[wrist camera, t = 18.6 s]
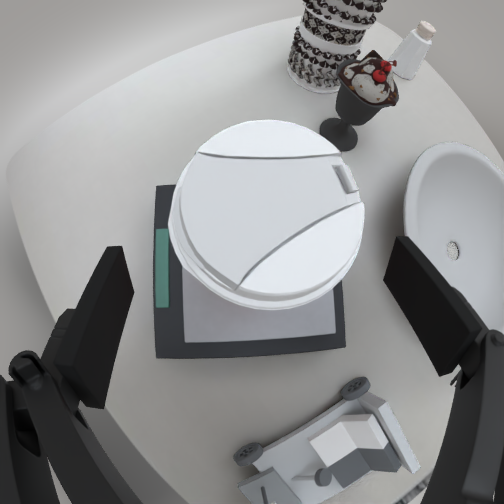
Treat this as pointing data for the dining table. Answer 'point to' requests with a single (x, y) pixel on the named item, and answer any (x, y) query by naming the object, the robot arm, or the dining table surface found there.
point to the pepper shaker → (412, 50)
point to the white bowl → (460, 222)
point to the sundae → (359, 97)
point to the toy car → (328, 452)
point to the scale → (229, 311)
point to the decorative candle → (328, 40)
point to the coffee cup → (267, 215)
